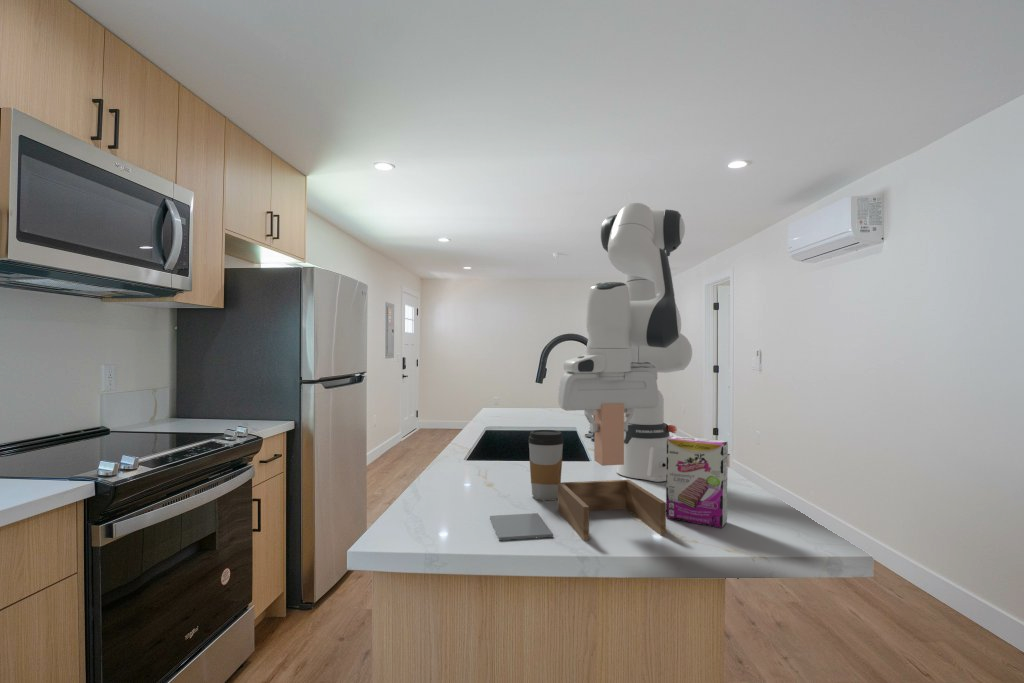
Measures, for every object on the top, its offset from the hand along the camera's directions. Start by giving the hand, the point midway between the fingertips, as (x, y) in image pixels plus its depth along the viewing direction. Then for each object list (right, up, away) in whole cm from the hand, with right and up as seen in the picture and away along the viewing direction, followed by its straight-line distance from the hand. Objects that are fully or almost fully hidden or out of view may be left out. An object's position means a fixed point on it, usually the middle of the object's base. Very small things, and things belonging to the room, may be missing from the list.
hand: (608, 431), depth 103 cm
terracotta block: (0, -6, 0) cm, 6 cm away
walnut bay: (0, -18, -1) cm, 18 cm away
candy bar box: (+18, -18, +1) cm, 26 cm away
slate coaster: (-18, -18, -4) cm, 26 cm away
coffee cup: (-12, -18, +17) cm, 27 cm away
